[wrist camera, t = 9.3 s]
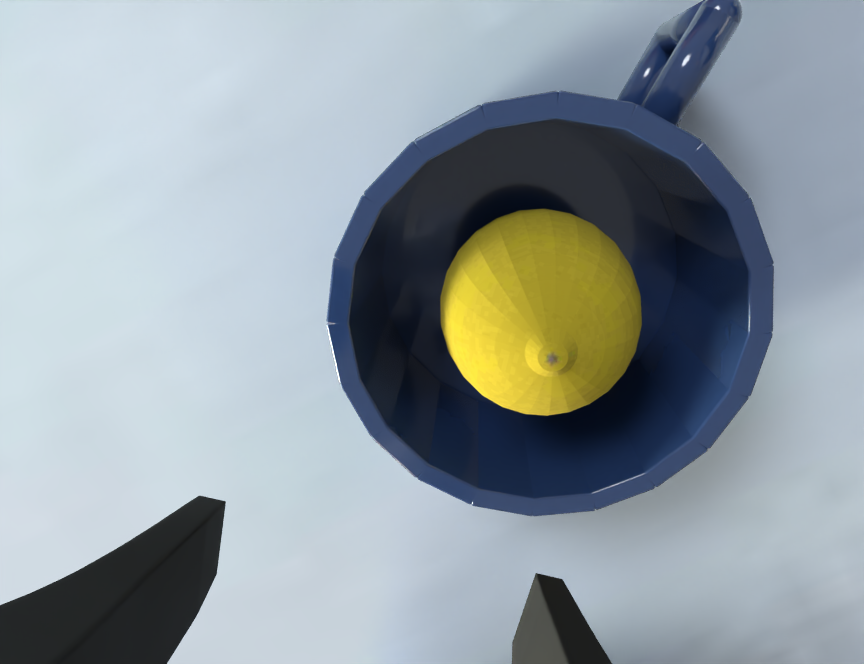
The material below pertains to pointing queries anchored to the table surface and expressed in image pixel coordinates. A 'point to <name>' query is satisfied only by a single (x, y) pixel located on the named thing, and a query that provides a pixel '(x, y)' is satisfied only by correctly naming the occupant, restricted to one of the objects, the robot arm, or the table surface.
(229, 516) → the table surface
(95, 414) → the table surface
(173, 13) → the table surface
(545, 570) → the table surface
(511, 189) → the blue mug
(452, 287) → the lemon
